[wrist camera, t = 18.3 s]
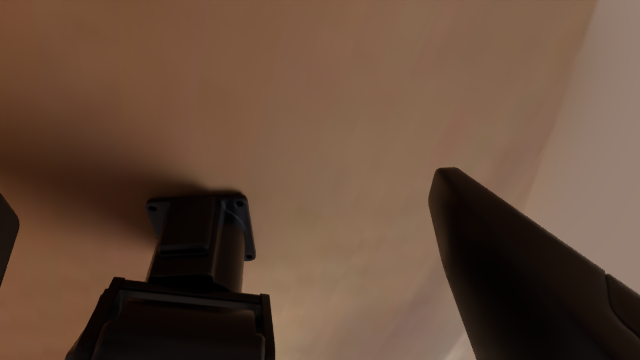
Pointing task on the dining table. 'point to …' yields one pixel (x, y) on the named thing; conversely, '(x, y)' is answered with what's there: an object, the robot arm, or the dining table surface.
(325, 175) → the dining table surface
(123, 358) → the robot arm
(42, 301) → the dining table surface
